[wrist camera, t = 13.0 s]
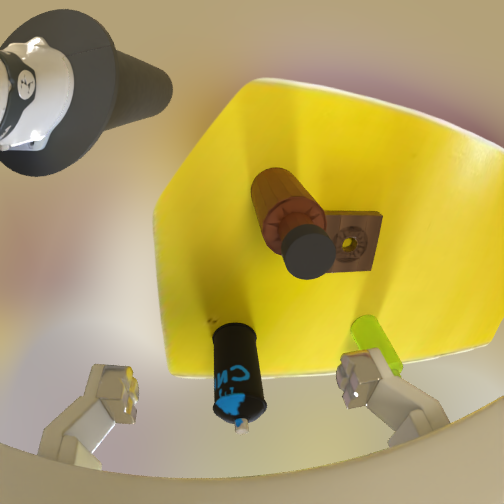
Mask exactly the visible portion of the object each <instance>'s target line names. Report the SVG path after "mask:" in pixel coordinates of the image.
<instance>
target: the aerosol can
mask: <svg viewBox="0 0 504 504" xmlns="http://www.w3.org/2000/svg"><path fill="white" fill-rule="evenodd" d="M256 339H257V337H256V333H255V332H254V330H253V329H252V328H251V327H249V326H247V325H245V324H241V323H229V324H226V325H223V326H221V327H220V328H218V329H217V330H216V331H215V333H214V334H213V338H212V341H213V344H214V398H215V403H214V405H213V411H214V413H215V414H216V415H217V416H218V417H220V418H221V419H223V420H224V421H226V422H228V423H232V424H235V432H236V433H237V434H242V435H243V434H246V433H248V432H249V427H248V423H250V422H253V421H255V420H256V419H258V418H259V417H260V416H261V415H262V414H263V413H264V412H265V411H266V408H267V403H266V401H265V400H264V396H263V388H262V381H261V374H260V368H259V361H258V354H257V347H256Z"/></svg>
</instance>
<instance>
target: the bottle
mask: <svg viewBox="0 0 504 504" xmlns="http://www.w3.org/2000/svg"><path fill="white" fill-rule="evenodd" d="M251 197H252V201H253V204H254V207H255V211H256V214H257V218H258V221H259V225H260V228H261V232H262V235H263V238H264V240H265V242H266V245H267V246H268V247H269V248H270V249H271V250H272V251H273V252H274V253H276V254H279V255H282V253H281V245H282V242H283V239H284V238H285V236H286V235H287V233H288V232H289V231H291V230H292V229H293V228H295V227H297V226H300V225H303V224H313V225H317V226H319V227H321V228H322V229H323V230H325V232H326V228H327V219H326V216H325V213H324V210H323V209H322V208H321V207H320V205H319V204H318V203H317V202H316V201H315V200H314V198H313V197H312V196H311V195H310V194H309V193H308V191H307V190H306V189H305V188H304V187H303V186H302V184H301V183H300V182H299V181H298V180H297V179H296V178H295V177H294V176H293V174H292V173H290V172H289V171H287V170H285V169H283V168H269V169H266V170H264V171H262V172H261V173H260V174H259V175H258V176H257V177H256V178H255V179H254V181H253V184H252V187H251Z"/></svg>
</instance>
